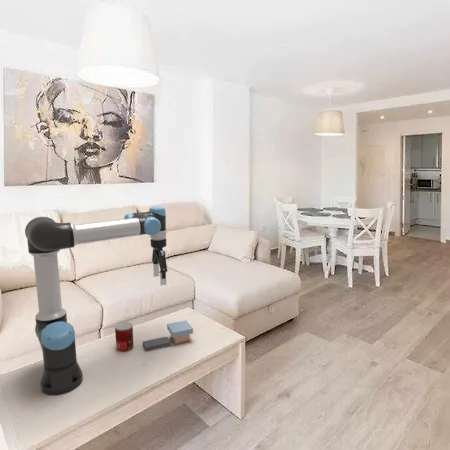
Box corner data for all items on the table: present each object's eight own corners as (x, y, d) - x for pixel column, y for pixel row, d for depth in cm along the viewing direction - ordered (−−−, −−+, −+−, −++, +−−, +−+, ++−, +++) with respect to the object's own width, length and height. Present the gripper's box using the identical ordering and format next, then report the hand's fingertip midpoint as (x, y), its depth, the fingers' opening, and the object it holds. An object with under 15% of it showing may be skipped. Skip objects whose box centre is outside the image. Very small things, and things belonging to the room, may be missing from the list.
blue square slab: (172, 337, 164) (172, 332, 164) (167, 328, 173) (167, 323, 173) (192, 333, 169) (192, 328, 168) (186, 324, 178) (186, 320, 177)
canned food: (131, 351, 161) (129, 329, 159) (113, 351, 161) (112, 329, 159) (135, 343, 168) (134, 322, 166) (119, 342, 168) (117, 321, 166)
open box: (175, 344, 167) (175, 335, 166) (171, 337, 173) (171, 329, 173) (189, 341, 170) (189, 332, 169) (184, 334, 176) (184, 326, 176)
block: (145, 351, 161) (145, 347, 160) (142, 345, 166) (142, 341, 166) (170, 345, 166) (170, 342, 165) (167, 340, 171) (167, 336, 171)
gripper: (173, 243, 158) (174, 287, 162) (159, 233, 180) (160, 272, 184) (157, 244, 155) (158, 290, 159) (145, 234, 177) (146, 274, 181)
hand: (159, 280), depth 172 cm, fingers open, 13 cm apart
